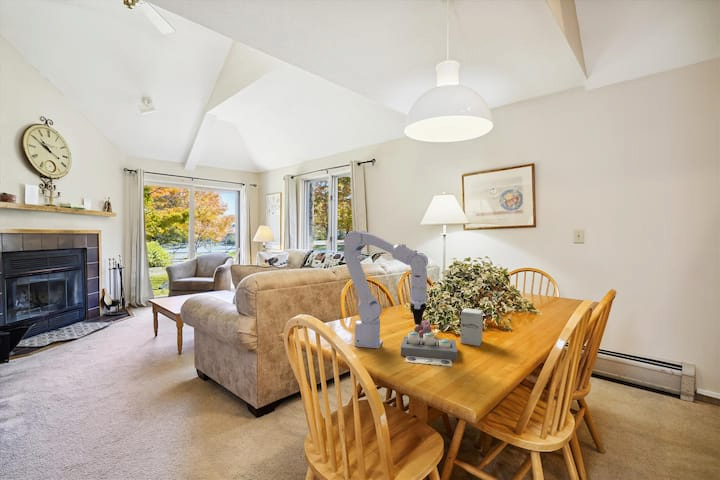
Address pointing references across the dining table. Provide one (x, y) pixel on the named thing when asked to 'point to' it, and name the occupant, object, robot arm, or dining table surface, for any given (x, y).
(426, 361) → the card
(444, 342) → the button right
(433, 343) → the button middle
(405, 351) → the button board
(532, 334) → the dining table surface
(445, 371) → the dining table surface
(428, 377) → the dining table surface
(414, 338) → the button left
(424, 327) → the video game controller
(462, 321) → the supplement box
